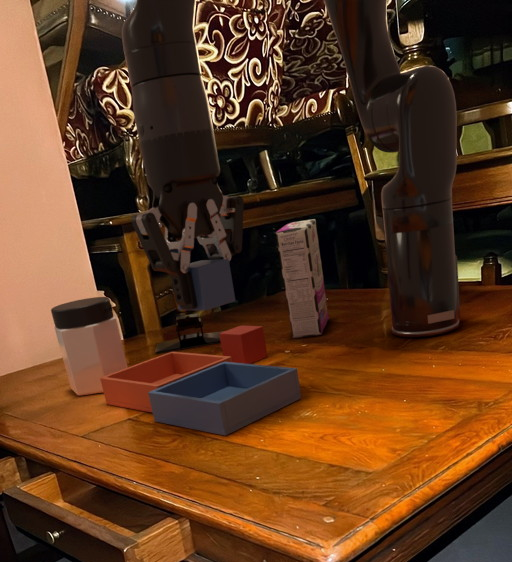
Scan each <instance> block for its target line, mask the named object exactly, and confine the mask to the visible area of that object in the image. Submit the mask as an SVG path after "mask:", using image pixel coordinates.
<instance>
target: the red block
mask: <svg viewBox="0 0 512 562" xmlns="http://www.w3.org/2000/svg"><path fill="white" fill-rule="evenodd" d="M223 331H224V332H222V331H221V332H222V333H219V336H220V341H221V342H220V346H221V352H222V356H229V357H231V358H232V362H234V363H244V364H254V363H256V362H258V361H260V360H263V359H265V358H268V351H267V344H266V339H265V332H264V326H263V325H238V326H236V327H233V328H230V329H228V330H223Z"/></svg>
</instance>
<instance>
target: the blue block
mask: <svg viewBox="0 0 512 562" xmlns="http://www.w3.org/2000/svg"><path fill="white" fill-rule="evenodd" d="M188 273H191V274H192V279H193V284H194V290H195V295H196V300H197V307H196V308H194V309H191V310H190V311H201V312H202V311H210V310H212V309H214V308H219V307H221V306H224V305H227V304H231V303H233V302H236V296H235V290H234V284H233V278H232V271H231V265H230V261H229V259H218V260H209V259H201V260H197V261H193V262H190V270H189V272H188ZM177 309H178V311H184V310H183V309H181V308H180V305H178V304H177Z"/></svg>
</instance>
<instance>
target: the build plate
mask: <svg viewBox="0 0 512 562" xmlns="http://www.w3.org/2000/svg"><path fill="white" fill-rule="evenodd" d="M189 329H200V331H197V332H196V333H190V334H186V333H185V334H183V335H182V334H181V332H184V331H185V330H189ZM224 331H225V330H223V331H215V332H207V333H204V322H203V321H202V318H200V316H199V313H198V312H196V313H191V314H184V315H180V316H179V315H178V316H176V324H175V332H177V336H178V338H174V339H169V340H165V341H162V342H157V343H156V348H155V350H154V351H155V352H154V353H155V355H158V354H165V353H170V352H177V351H180V350H185V349H191V348H198V347H204V346H209V345H214V344H221V341H220V336H219V333H222V332H224Z"/></svg>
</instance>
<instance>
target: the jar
mask: <svg viewBox="0 0 512 562" xmlns="http://www.w3.org/2000/svg"><path fill="white" fill-rule="evenodd" d="M50 312H51V316H52V320H53V324H54V332H55V335H56V338H57V342H58V346H59V349H60V353H61V358H62V360H63V364H64V367H65V372H66V376H67V379H68V382H69V386H70V389H71V391H73V392H74V393H75V394H76V396H87V395H94V394H102V393H103V394H104V392H103V388H102V384H101V380H100V378H101V377H104V376H107V375H109V374H112V373H115V372H118V371H120V370H123V369H126V368H128V367H129V366H128V363H127V359H126V355H125V350H124V346H123V342H122V338H121V333H120V329H119V325H118V321H117V317H115V316H114V313H113V305H112V303H111V299H110V297H108V296H96V297H88V298H81V299H75V300H72V301H69V302H64V303H61V304H58V305H56V306H53V307H52V308H51V309H50Z"/></svg>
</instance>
